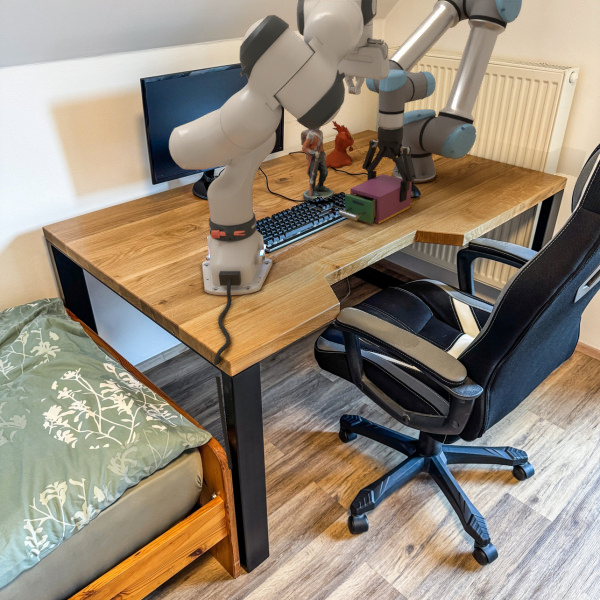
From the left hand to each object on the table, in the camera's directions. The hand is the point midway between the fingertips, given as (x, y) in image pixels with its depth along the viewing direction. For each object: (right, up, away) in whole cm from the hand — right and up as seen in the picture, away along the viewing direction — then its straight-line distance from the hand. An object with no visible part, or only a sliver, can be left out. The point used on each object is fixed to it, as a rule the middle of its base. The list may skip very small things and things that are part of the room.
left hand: (354, 93), depth 150 cm
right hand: (+13, -22, +28) cm, 38 cm away
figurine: (-8, -21, +39) cm, 45 cm away
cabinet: (+11, -27, +28) cm, 40 cm away
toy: (-1, -1, +70) cm, 70 cm away
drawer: (+6, -29, +24) cm, 38 cm away
